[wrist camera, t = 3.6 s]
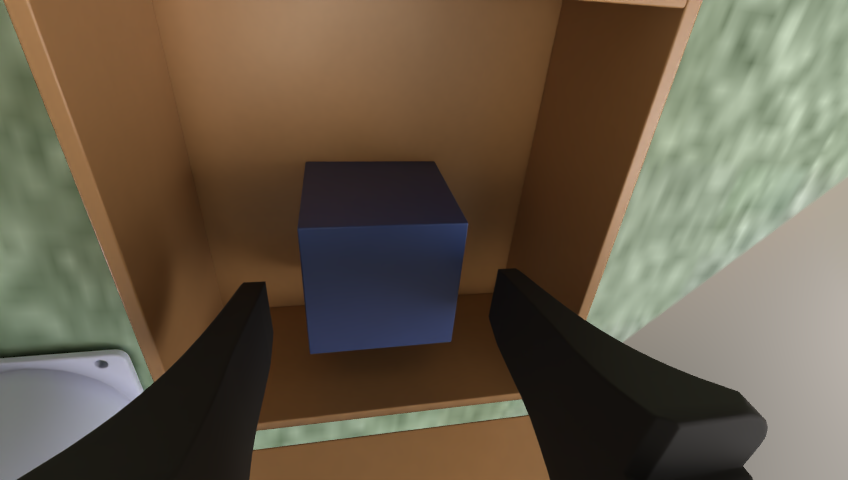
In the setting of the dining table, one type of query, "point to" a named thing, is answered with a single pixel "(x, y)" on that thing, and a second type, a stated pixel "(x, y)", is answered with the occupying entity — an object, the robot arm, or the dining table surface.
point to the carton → (349, 158)
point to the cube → (379, 254)
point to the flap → (413, 455)
